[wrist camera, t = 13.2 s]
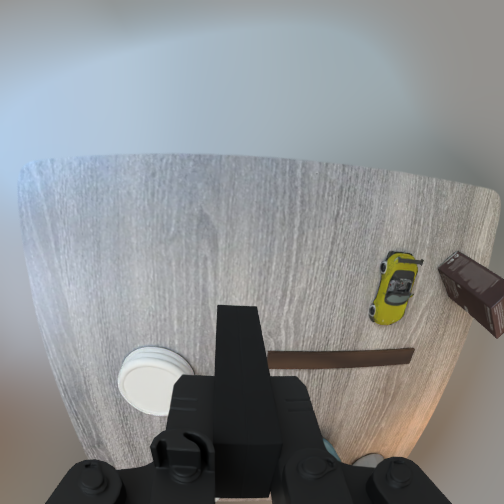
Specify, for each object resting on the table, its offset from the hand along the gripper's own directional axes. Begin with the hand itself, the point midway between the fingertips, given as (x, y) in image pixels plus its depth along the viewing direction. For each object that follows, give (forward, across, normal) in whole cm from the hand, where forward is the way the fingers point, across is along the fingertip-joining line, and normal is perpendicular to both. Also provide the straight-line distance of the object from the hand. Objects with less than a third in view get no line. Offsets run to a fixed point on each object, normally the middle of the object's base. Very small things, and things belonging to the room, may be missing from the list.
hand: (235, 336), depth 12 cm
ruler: (+23, +17, -18) cm, 33 cm away
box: (+23, +31, -6) cm, 39 cm away
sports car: (+23, +21, -8) cm, 32 cm away
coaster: (+23, -8, -22) cm, 32 cm away
